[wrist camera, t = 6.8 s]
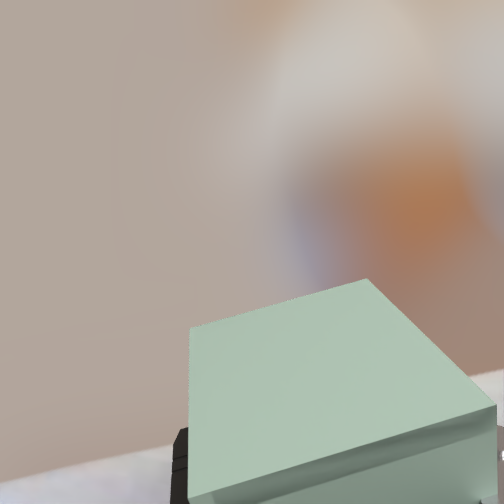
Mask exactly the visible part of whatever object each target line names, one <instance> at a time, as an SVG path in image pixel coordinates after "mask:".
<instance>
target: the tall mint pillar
mask: <svg viewBox="0 0 504 504" xmlns="http://www.w3.org/2000/svg"><path fill="white" fill-rule="evenodd" d="M189 330H190V332H189V333H190V334H189V335H190V336H189V423H188V424H189V425H188V501H189V503H190V504H481V499H483V498H487V497H490V496H493V495H496V494H498V478H497V404H496V403H494V402H493V401H492V400H491V399H490V398H489V397H488V396H487V395H486V394H485V393H484V392H483V391H482V390H481V389H480V388H479V387H478V386H477V385H476V384H475V383H474V382H473V381H472V380H471V379H470V378H469V377H468V376H467V375H466V374H465V373H463V372H462V371H461V370H460V369H459V368H458V367H457V366H456V365H455V364H454V363H453V362H452V361H451V360H450V359H449V358H448V357H447V356H446V355H445V354H444V353H443V352H442V351H441V350H440V349H439V348H438V347H437V346H436V345H435V344H434V343H433V342H432V341H431V340H430V339H429V338H428V337H426V336H425V335H424V334H423V333H422V332H421V331H420V330H419V329H418V328H417V327H416V326H415V325H414V324H413V323H412V322H411V321H410V320H409V319H408V318H407V317H406V316H405V315H404V314H403V313H402V312H401V311H400V310H399V309H398V308H397V307H395V305H393V303H391V302H390V301H389V300H388V299H387V298H386V297H385V296H384V295H383V294H382V293H381V292H380V291H379V290H378V289H377V288H376V287H375V286H374V285H373V284H372V283H370V281H369V280H368V279H363V280H359V281H356V282H352V283H349V284H345V285H342V286H338V287H335V288H331V289H327V290H324V291H321V292H317V293H314V294H310V295H307V296H303V297H299V298H296V299H292V300H289V301H285V302H282V303H278V304H275V305H271V306H268V307H264V308H260V309H257V310H254V311H250V312H246V313H243V314H239V315H236V316H232V317H229V318H225V319H221V320H218V321H215V322H211V323H207V324H204V325H200V326H197V327H193V328H190V329H189Z"/></svg>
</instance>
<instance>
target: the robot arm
mask: <svg viewBox="0 0 504 504" xmlns="http://www.w3.org/2000/svg"><path fill="white" fill-rule="evenodd" d="M497 478H498V494H496V495H493V496H490V497H487V498H483V499H481V504H504V427H502V426H498V425H497ZM170 504H190V503H189V501H188V427H187V428H184V429H181V430H180V431H179V434H178V436H177V438H176V440H175V442H174V444H173V462H172V478H171V496H170Z"/></svg>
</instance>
